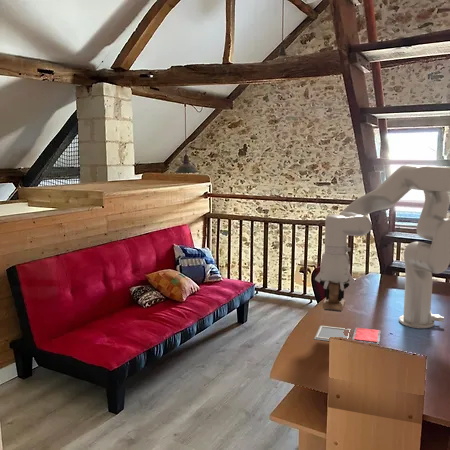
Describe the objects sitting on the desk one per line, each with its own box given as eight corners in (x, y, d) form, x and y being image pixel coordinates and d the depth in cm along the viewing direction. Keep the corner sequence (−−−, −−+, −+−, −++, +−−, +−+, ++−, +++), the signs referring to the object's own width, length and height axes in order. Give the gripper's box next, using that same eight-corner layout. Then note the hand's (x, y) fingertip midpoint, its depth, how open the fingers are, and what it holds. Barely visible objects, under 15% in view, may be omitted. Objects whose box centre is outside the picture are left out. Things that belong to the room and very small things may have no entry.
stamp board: (352, 329, 172) (352, 328, 172) (348, 343, 160) (348, 342, 160) (320, 325, 176) (320, 324, 176) (314, 339, 164) (314, 337, 164)
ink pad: (380, 333, 168) (380, 329, 168) (379, 347, 157) (379, 342, 157) (355, 330, 171) (355, 326, 171) (351, 343, 160) (351, 339, 160)
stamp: (344, 306, 168) (345, 281, 167) (342, 312, 162) (343, 287, 160) (325, 304, 171) (326, 279, 169) (322, 310, 164) (323, 285, 163)
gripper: (360, 249, 163) (358, 298, 166) (313, 246, 169) (312, 293, 172) (358, 253, 156) (357, 305, 159) (309, 250, 162) (308, 300, 165)
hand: (334, 298), depth 166 cm, fingers closed on stamp, 4 cm apart
